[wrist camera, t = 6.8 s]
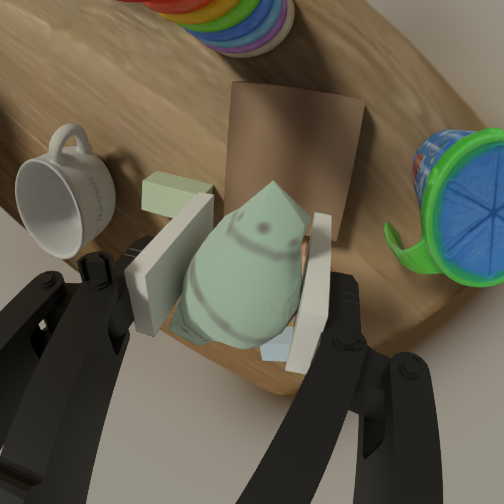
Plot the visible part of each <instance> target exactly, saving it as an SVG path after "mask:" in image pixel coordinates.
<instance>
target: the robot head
mask: <svg viewBox="0 0 504 504" xmlns="http://www.w3.org/2000/svg"><path fill="white" fill-rule="evenodd" d="M310 218H311V217H310V216H309V215H308V214H307V213H306V212H305V211H304V210H303V209H302V208H301V207H300V206H299V205H298V204H297V203H296V202H295V201H294V200H293V199H292V198H291V197H290V196H289V195H288V194H287V193H286V192H285V191H284V190H283V189H282V188H281V187H280V186H279V185H278V184H277V183H276V182H275V181H272V182H271V183H269V184H268V185H267V186H266V187H265V188H263V189H262V190H261V191H260V192H259V193H257V194H256V195H255V196H254V197H253V198H251V199H250V200H249V201H248V202H247V203H245V204H244V205H243V206H242V207H241V208H239V209H237V210H235V211H233V212H231V213H230V214H228V215H226V216H225V217H224V218H223V219H222V220H221V221H220V223H219V224H218V225H217V226H216V227H215V229H214V230H213V231H212V232H211V233H210V234H209V235H208V237H207V238H206V239H205V241H204V242H203V244H202V245H201V247H200V248H199V249H198V251H197V252H196V254H195V255H194V257H193V258H192V260H191V262H190V265H189V267H188V269H187V271H186V274H185V277H184V283H183V292H182V295H181V298H180V300H179V303H178V305H177V308H176V310H175V313H174V315H173V318H172V320H171V323H170V325H169V328H168V329H169V330H171V331H173V332H174V333H176V334H178V335H180V336H182V337H183V338H185V339H187V340H189V341H191V342H193V343H194V344H196V345H198V346H201V345H203V344H206V343H208V342H210V341H212V340H213V341H220V342H222V343H225V344H227V345H230V346H233V347H236V348H240V349H244V350H245V349H250V348H255V347H260V346H262V345H263V344H265V343H267V342H268V341H270V340H271V339H273V338H275V337H276V336H278V335H279V334H281V333H282V332H283V331H284V329H285V328H286V327H287V325H288V324H289V322H290V321H291V320H292V318H293V317H294V316H295V314H296V313H297V310H298V307H299V303H300V298H301V293H302V287H303V280H302V244H301V243H302V240H303V238H304V235H305V232H306V229H307V226H308V224H309V221H310Z"/></svg>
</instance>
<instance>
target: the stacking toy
mask: <svg viewBox="0 0 504 504" xmlns="http://www.w3.org/2000/svg"><path fill="white" fill-rule="evenodd" d="M118 1H123V2H142V3H143V4H144V5H145V6H146V7H148V8H150V9H151V10H154V11H156V12H157V13H158V14H160V15H161V16H162V17H164V18H165V19H167V20H169V21H172V22H175V23H176V24H178V25H179V26H181V27H183V28H184V29H185V30H186V31H187V32H189V33H190V34H192V35H193V36H195V37H196V38H197V39H198V40H199V41H200V42H201V43H203V44H204V45H205V46H207V47H209V48H211V49H213V50H215V51H217V52H218V53H221V54H223V55H226V56H229V57H235V58H249V57H255V56H258V55H262V54H264V53H267V52H269V51H270V50H272V49H274V48H275V47H277V46H278V45H279V44H280V43H281V42H282V41H283V40H284V39H285V38H286V36H287V35H288V33H289V32H290V30H291V28H292V25H293V22H294V16H295V9H294V3H293V0H118Z"/></svg>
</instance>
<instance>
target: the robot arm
mask: <svg viewBox="0 0 504 504" xmlns="http://www.w3.org/2000/svg"><path fill="white" fill-rule="evenodd" d="M213 212H214V195H213V194H207V193H200V192H199V193H198V194H197V195H196V196H195V197H194V198H193V199H192V200H191V201H190V202H189V203H188V204H187V205H186V206H185V207H184V208H183V209H182V210H181V211H180V212H179V213H178V214H177V215H176V216H175V217H174V218H173V219H172V220H171V221H170V222H169V223H168V224H167V225H166V226H165V227H164V228H163V229H162V230H161V231H160V232H159V233H158V234H157V236H156V237H151V236H145V237H143V238H141V239H139V240H137V241H136V242H135V243H134V244H133V245H132V246H131V247H130V248H129V249H128V250H127V251H126V252H125V253H124V255H122V256H121V257H120V258H119V259H118V260H117V261H116V262H115V263H114V259H113V257H112V255H110V254H109V253H106V252H102V251H101V252H92V253H88V254H86V255H84V256H82V257H81V258H80V259H79V260H78V261H77V263H78V267H79V271H80V275H81V278H82V283H65V282H64V278H63V276H62V274H61V273H59V272H58V271H47V272H44V273H41V274H39V275H38V276H37V277H35V278H34V279H33V280H32V281H31V282H30V283H29V284H28V285H27V286H26V287H25V288H24V289H22V290H21V291H20V292H19V293H18V294H17V295H16V296H15V297H14V298H13V299H12V300H11V301H10V302H9V303H8V304H7V305H6V306H5V307H4V308H3V309H2V310H1V311H0V450H1V448H2V446H3V445H4V447H3V449H2V452H1V455H0V504H86V500H87V494H88V489H89V485H90V480H91V475H92V470H93V466H94V462H95V458H96V454H97V449H98V445H99V441H100V437H101V433H102V430H103V426H104V422H105V418H106V415H107V411H108V407H109V404H110V400H111V397H112V393H113V390H114V387H115V383H116V380H117V377H118V373H119V369H120V367H121V364H122V360H123V357H124V354H125V351H126V348H127V345H128V342H129V339H130V333H129V329H128V328H129V326H130V325H131V324H132V322H133V321H134V323H135V328H136V331H137V332H140V333H143V334H146V335H149V336H152V337H155V336H156V334H157V333H158V331H159V329H160V328H161V326H162V324H163V323H164V321H165V319H166V318H167V316H168V315H169V313H170V311H171V310H172V308H173V306H174V305H175V303H176V302H177V300H178V298H179V297H180V295H181V294H182V292H183V283H184V277H185V274H186V271H187V269H188V267H189V265H190V262H191V260H192V258H193V257H194V255H195V254H196V252H197V251H198V249H199V248H200V247H201V245H202V244H203V242H204V241H205V239H206V238H207V237H208V235H209V234H210V233H211V232H212V231H213ZM330 263H331V215H327V214H322V213H316V212H315V214H314V219H313V224H312V229H311V234H310V239H309V244H308V249H307V254H306V258H305V263H304V269H303V276H302V280H303V287H302V293H301V298H300V303H299V307H298V310H297V313H296V316H295V322H294V327H293V333H292V338H291V343H290V349H289V354H288V359H287V364H286V369H285V370H286V371H291V372H296V373H302V374H306V375H305V378H304V380H303V382H302V384H301V386H300V388H299V390H298V392H297V394H296V396H295V398H294V400H293V402H292V404H291V406H290V408H289V410H288V412H287V414H286V416H285V418H284V420H283V422H282V424H281V425H280V428H279V429H278V431H277V433H276V435H275V437H274V439H273V440H272V442H271V444H270V446H269V448H268V449H267V451H266V453H265V455H264V457H263V458H262V460H261V462H260V464H259V465H258V467H257V469H256V471H255V473H254V474H253V476H252V477H251V479H250V481H249V482H248V484H247V486H246V487H245V489H244V491H243V492H242V494H241V496H240V497H239V499H238V500H237V502H236V504H310V503H311V501H312V499H313V497H314V494H315V492H316V490H317V488H318V485H319V483H320V481H321V479H322V476H323V474H324V472H325V469H326V467H327V465H328V462H329V460H330V457H331V455H332V452H333V450H334V447H335V445H336V442H337V439H338V436H339V434H340V431H341V429H342V426H343V423H344V420H345V417H346V414H347V412H348V410H350V411H353V412H355V413H357V414H359V428H358V450H357V464H356V477H355V489H354V498H353V504H443V480H442V464H441V450H440V440H439V430H438V422H437V414H436V407H435V400H434V393H433V387H432V382H431V376H430V371H429V368H428V366H427V364H426V363H425V361H424V360H423V359H422V358H421V357H419V356H417V355H416V354H413V353H410V352H400V353H398V354H395V355H394V356H393V358H392V359H391V358H389V357H387V356H384V355H382V354H380V353H378V352H376V351H374V350H373V349H371V348H370V347H369V346H368V345H367V342H366V340H365V338H364V336H363V335H362V334H361V322H360V304H359V288H358V283H357V282H356V280H355V279H354V277H353V276H352V275H348V274H343V273H338V272H333V271H330ZM42 320H44V322H45V324H46V327H45V328H44V329H43V330H41V329H40V327H39V325H38V324H39V323H40V322H41V321H42ZM4 443H5V444H4Z"/></svg>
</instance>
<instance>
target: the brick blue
mask: <svg viewBox="0 0 504 504" xmlns="http://www.w3.org/2000/svg"><path fill="white" fill-rule="evenodd" d="M292 333H293V327H286V328H285V329H284V331H283V332H282V333H281V334H279V335H278V336H276V337H275V338H273V339H271V340H270V341H268V342H267V343H265V344H263V345H262V346H260V350H261V355H262V360H266V361H285V362H287V359H288V354H289V349H290V343H291V338H292Z"/></svg>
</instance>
